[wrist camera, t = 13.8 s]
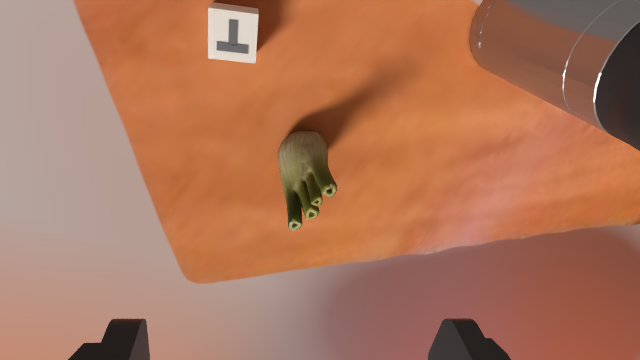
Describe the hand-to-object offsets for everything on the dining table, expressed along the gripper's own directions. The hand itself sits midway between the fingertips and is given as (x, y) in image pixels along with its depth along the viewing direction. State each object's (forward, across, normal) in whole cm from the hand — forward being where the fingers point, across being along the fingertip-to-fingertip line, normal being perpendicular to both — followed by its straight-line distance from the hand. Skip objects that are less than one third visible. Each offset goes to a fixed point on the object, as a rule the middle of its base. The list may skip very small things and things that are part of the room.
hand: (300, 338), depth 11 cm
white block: (+32, +4, -2) cm, 32 cm away
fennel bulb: (+32, -4, +9) cm, 34 cm away
